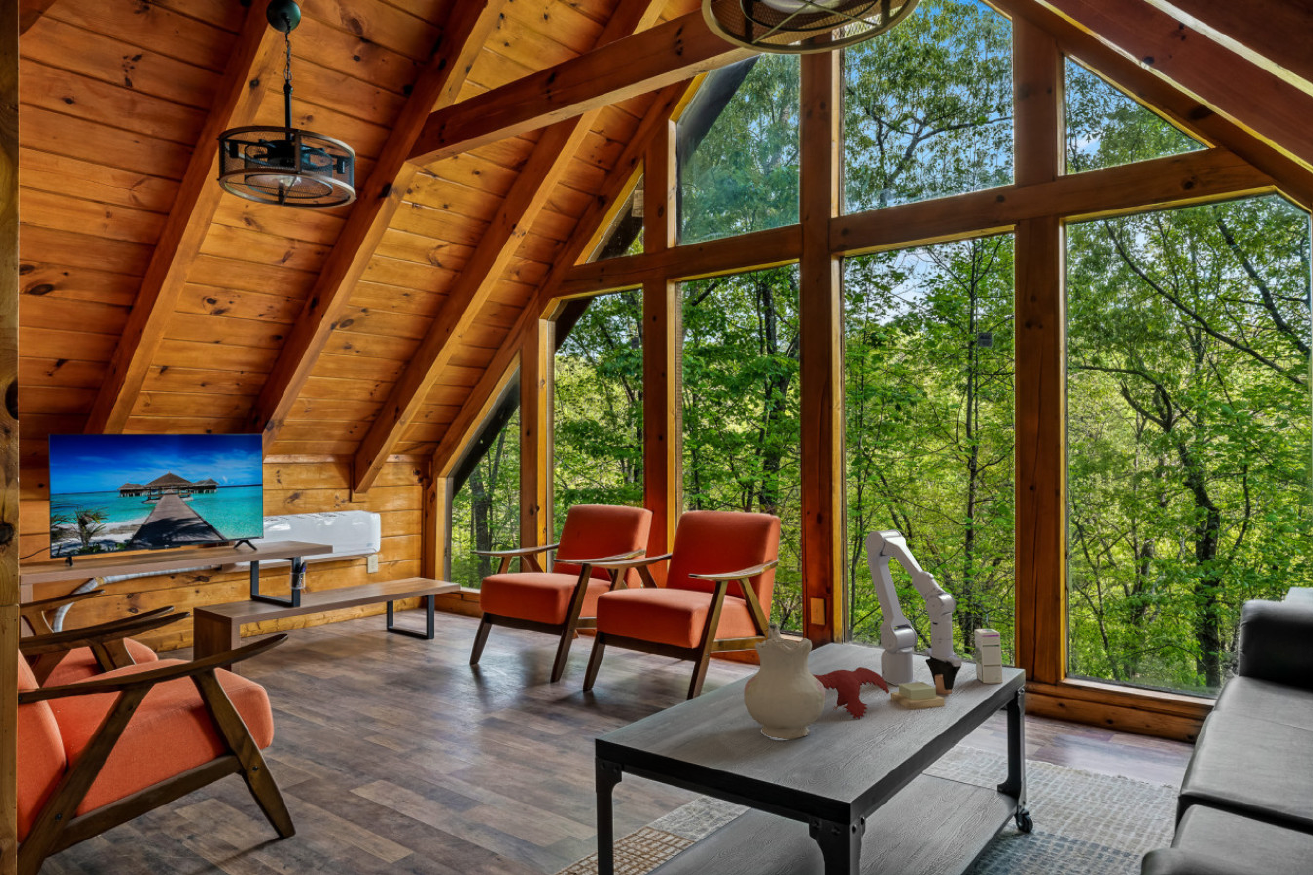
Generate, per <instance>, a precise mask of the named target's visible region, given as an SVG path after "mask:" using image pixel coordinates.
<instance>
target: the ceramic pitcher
mask: <svg viewBox="0 0 1313 875" xmlns="http://www.w3.org/2000/svg"><path fill="white" fill-rule="evenodd" d="M754 648H755V651H756V653H757V655H758V657H759V663H760V664H759V669H758V671H757V672H756V674H755V675H753V676H752V677H751V678H750V679H748V680H747V681H746V683H745V686H744V689H743V690H744V691H743V692H744V693H743V694H744V696H743V697H744V700H743V701H744V703H745V707H746V709H747V712H748V714H750V717H751V718H752V719H753V720H754V721H755V722H756V723H757V724H759V725H761V726H762V728H761V729H762V732H763V733H764V734H766V735H768V736H771V737H777V738H783V739H790V740H793V739H797V738H802V737H807V736H808V735H809V734H810V732H811V731H810V729H809V728H808V727H809V726H811V725H812V724H814V723H815V722H816V721H817V720H818V719H819V718H820V716H821V715H822V713H823V710H824V707H825V704H826V703H825V702H826V688H824V687H823V684H822V683H821V682H820V681H819V680H818V679H817V678H815V677H814V676H813V675H814V674H813V675H812V672H811V671H810V669H809V664H808V663H809V657H810V653H811V651H812V648H813V643H812V640H811V639H808V638H806V637H803V638H802V639H801V640H799V641H798V642H797V641H795V640H793V639H792V640H791V639H787V638H783V637H782V635H781V632H780V628H779V625H778V624H776V623H775V622H768V631H767V639H765V640H763V641H762V642H758V641H757V642H755V644H754ZM807 734H808V735H807ZM806 735H807V736H806Z"/></svg>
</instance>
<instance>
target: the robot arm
mask: <svg viewBox="0 0 1313 875" xmlns="http://www.w3.org/2000/svg"><path fill="white" fill-rule="evenodd" d="M864 546H865V549H866V554H867V556H866V558H867V560H866V561H867V565H868V569H869V571H870V576H871V578H872V582H873V585H874V586H873V587H874V589H875V593H876V597H877V600H878V604H879V607H880V610H881V614H882V616H883V621H882V623H881V625H880V626H879V631H880V644H881V646H882V647H883V648H884V650H883V652H882V654H881V656H880V658H881V659H880V660H881V663H880V664H881V677H882V678H883V679H884V681H885V682H886V683H888V684H890V685H893V686H894V687H895V686H896V687H898V684H906V683H917V682H920V681H919V680H917V679H915V678H914V659H913V657H914V656H913V652H914V650H915V649H914V647H915V646H917V644H918V639H919V638H918V634H917V632H916V630H915V629H914V627H913V626H912V622H911V620H909V619H908V618H907V617H906V616H904V614H903V611H902V609H901V608H902V607H901V604H900V600H899V598H898V593H897V591H896V588H895V583H894V581H893V577H892V575H891V571H890V569H889V565H888V563H889V561H890V560H891V559H892V557H893V558H895V559H896V560H897V561H898V562H899V563H900V564H901V566H902V567H903V568H904V570H906V572H907V573H908V574H909V575H910V576H911V577H912V580H911V584H912V586H914V588H915V589H916V591H917V592H918V594H919V595H920V596H921V598H922V599H923V600H924V602H925V604H924V606H925V610H926V612H927V614H928V619H929V622H930V638H931V639H930V641H931V645H930V648H924V656H926V657H929V658H927V659H925V663H926V665H927V667H928V669H929V671H930V674H931V677H932V680H933V684H934V685H935V675H937V674H942V675H943V681H944V687H945V690H952V691H953V689H954V686H955V682H956V678H957V675H958V672H959V671H960V669H961V667H962V658H960V657H958V656H957V652H954V640H953V638H954V636H953V635H954V634H953V632H954V630H953V613H954V612H955V610H956V608H957V602H956V599H955V598H954V596H953V594H951V593H949V592H947V591H945V590H944V589H943V588H942V587H941V586H940V585H939V583H938V582H937V581H936V579H935V576H934V574H932V573H930V572H929V571H924V570H923V569H922V567H921V566H920V565H919V563H918V561H917V560H916V558H915V557H914V555H913V554H912V552H911V550H910V549H909V547H908V546H907V542H906V538H905V537H904V536H903V535H902V533H901V532H900V531H899V530H898V529H896V528H891V529H885V530H873V531H870V532H869V533H868V535H867V537H866V539H865V541H864Z"/></svg>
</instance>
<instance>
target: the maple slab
mask: <svg viewBox="0 0 1313 875" xmlns="http://www.w3.org/2000/svg"><path fill="white" fill-rule="evenodd" d="M890 700H891V701H892V702H895V703H897V704H899V705H901V706H903V707H905V708H907V709H909V710H917V709H927V708H928V709H929V708H935V707H943V706H945V705H946V702H945V697H942V696H940V695H939V694H936V698H929V699H919V700H910V699H908V698H906V697H904V696H903V695H901V694H899V691H894V692H890Z"/></svg>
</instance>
